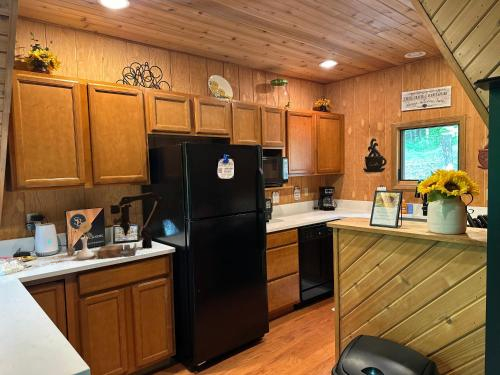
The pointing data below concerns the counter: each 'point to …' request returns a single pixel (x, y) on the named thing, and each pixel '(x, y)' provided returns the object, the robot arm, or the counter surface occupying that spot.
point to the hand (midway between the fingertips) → (126, 234)
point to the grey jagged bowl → (129, 251)
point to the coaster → (127, 233)
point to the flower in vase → (85, 242)
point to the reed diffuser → (71, 249)
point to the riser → (126, 247)
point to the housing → (110, 251)
